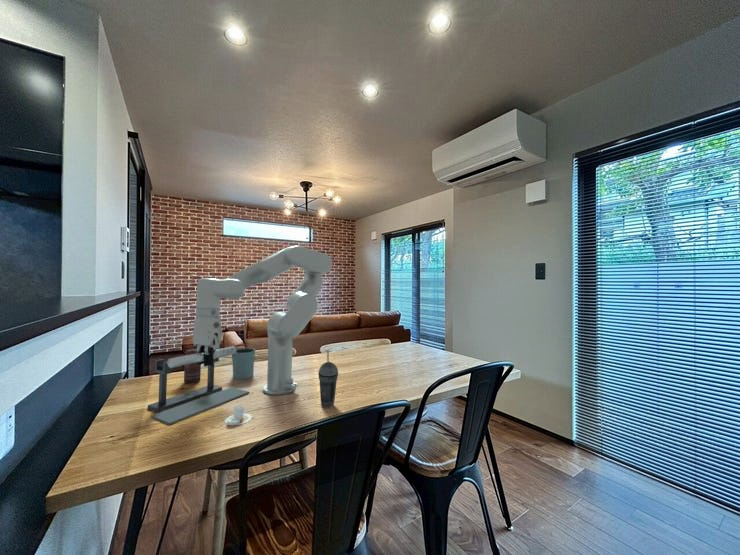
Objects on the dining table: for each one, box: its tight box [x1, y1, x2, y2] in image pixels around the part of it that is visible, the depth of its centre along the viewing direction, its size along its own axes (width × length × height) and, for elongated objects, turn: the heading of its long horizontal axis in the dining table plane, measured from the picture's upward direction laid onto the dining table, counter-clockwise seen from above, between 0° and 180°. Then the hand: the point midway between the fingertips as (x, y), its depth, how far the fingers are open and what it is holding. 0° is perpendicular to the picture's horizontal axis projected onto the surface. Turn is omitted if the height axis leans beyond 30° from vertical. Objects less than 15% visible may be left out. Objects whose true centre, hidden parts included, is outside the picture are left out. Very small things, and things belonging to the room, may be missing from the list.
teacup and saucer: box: [224, 405, 253, 426], centre depth 96 cm, size 9×8×4 cm
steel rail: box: [166, 346, 238, 369], centre depth 107 cm, size 24×3×3 cm, turn 153°
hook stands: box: [147, 351, 223, 413], centre depth 112 cm, size 6×24×16 cm, turn 153°
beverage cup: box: [317, 349, 339, 409], centre depth 109 cm, size 7×7×20 cm
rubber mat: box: [150, 386, 250, 426], centre depth 107 cm, size 10×30×1 cm, turn 153°
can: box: [183, 347, 202, 385], centre depth 130 cm, size 6×6×14 cm
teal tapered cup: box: [231, 347, 256, 380], centre depth 139 cm, size 10×10×12 cm
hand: (204, 364), depth 107 cm, fingers closed on steel rail, 3 cm apart
